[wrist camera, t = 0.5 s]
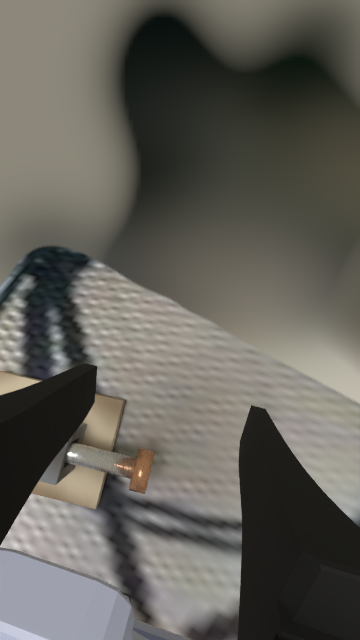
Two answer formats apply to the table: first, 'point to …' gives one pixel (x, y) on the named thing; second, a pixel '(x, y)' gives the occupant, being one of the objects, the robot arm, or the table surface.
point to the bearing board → (95, 437)
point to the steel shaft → (114, 463)
